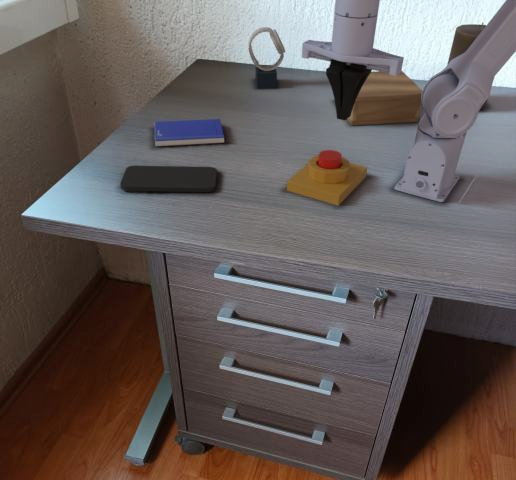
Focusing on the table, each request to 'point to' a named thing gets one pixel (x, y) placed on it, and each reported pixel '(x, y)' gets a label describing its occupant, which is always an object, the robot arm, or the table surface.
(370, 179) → the table surface
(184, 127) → the blue hardcover book
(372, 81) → the lid
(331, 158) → the button
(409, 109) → the chest
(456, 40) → the pillar candle
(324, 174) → the button block
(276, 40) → the watch
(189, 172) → the phone
